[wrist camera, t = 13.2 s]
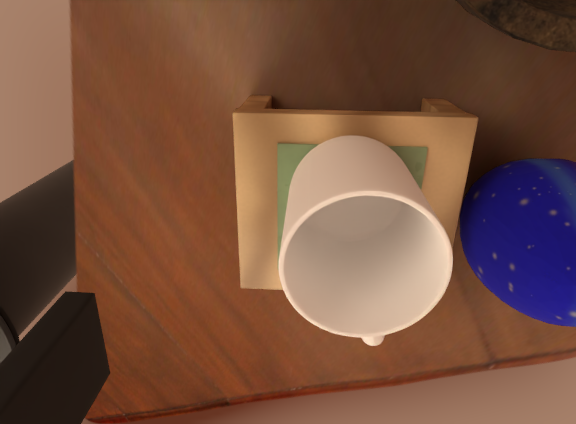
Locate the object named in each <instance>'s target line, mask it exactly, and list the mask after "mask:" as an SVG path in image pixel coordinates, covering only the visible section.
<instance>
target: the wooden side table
mask: <svg viewBox="0 0 576 424" xmlns="http://www.w3.org/2000/svg"><path fill="white" fill-rule="evenodd" d="M477 123H478V117H476V116H475V115H473V114H471V113H466V112H464V111H463V110H461V109H459V108H458V107H456V106H455V105H453V104H451V103H450V102H448V101H447V100H445V99H422V105H421V112H397V111H349V110H301V109H272V97H271V96H263V95H250V96H249V97H248V99H247V100H246V101H245V102H244V103H243V105H242V106H241V107H240V108H236V109H235V111H234V112H233V133H234V155H235V177H236V199H237V221H238V243H239V265H240V287H241V288H252V289H276V290H283V288H282V285H281V282H280V277H279V255H280V248H281V241H282V235H283V228H284V221H285V215H286V208H287V201H288V195H289V188H290V184H291V180H292V177H293V174H294V172H295V170H296V168H297V166H298V165H299V163H300V162H301V160H302V159H303V158H304V157H305V156H306V154H308V153H309V152H310V151H311V150H312V149H313V148H315V147H316V146H318V145H319V144H321V143H323V142H325V141H327V140H330V139H333V138H336V137H340V136H349V135H353V136H364V137H368V138H372V139H375V140H377V141H379V142H381V143H383V144H385V145H386V146H388V147H389V148H390V149H392V150H393V151H394V152H395V153H396V154H397V155H398V156H399V157H400V158H401V159H402V161H403V162H404V164H405V165H406V167H407V168H408V170H409V171H410V173H411V175H412V176H413V178H414V180H415V181H416V183H417V184H418V186H419V188H420V189H421V191H422V193H423V194H424V196H425V198H426V199H427V201H428V203H429V204H430V206H431V207H432V209H433V211H434V212H435V214H436V216H437V217H438V219H439V221H440V222H441V224H442V225H443V227H444V229H445V231H446V233H447V235H448V237H449V240H450V244H451V247H452V250H453V245H454V240H455V235H456V229H457V224H458V219H459V214H460V209H461V204H462V199H463V194H464V189H465V184H466V179H467V174H468V169H469V164H470V159H471V154H472V149H473V144H474V139H475V133H476V128H477ZM443 295H444V294H443ZM442 297H443V296H442Z"/></svg>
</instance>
